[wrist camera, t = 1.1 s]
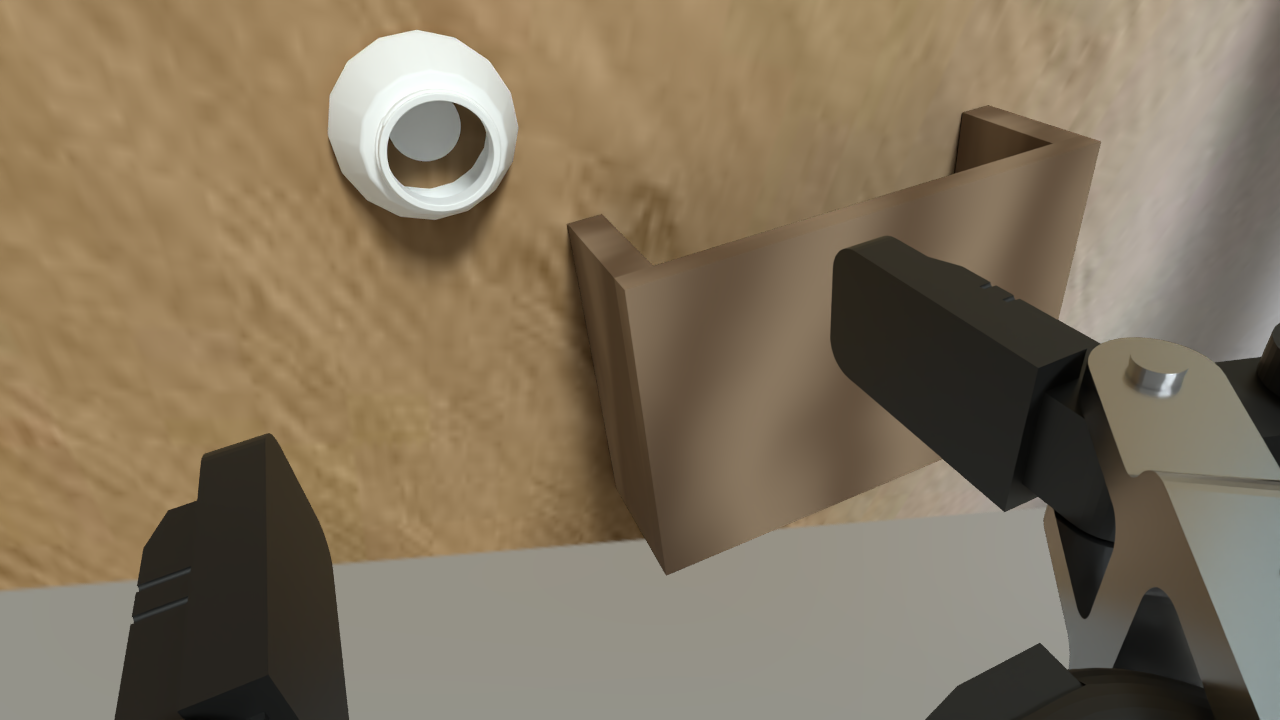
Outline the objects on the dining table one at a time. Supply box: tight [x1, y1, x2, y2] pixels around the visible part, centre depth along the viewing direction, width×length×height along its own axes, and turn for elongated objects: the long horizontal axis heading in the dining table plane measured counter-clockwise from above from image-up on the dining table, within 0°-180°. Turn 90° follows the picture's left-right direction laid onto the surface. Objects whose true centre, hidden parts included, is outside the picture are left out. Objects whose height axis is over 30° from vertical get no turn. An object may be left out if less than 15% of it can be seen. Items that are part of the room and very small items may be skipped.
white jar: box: [328, 30, 518, 220], centre depth 20 cm, size 5×3×5 cm
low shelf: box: [568, 105, 1101, 575], centre depth 28 cm, size 17×12×5 cm
